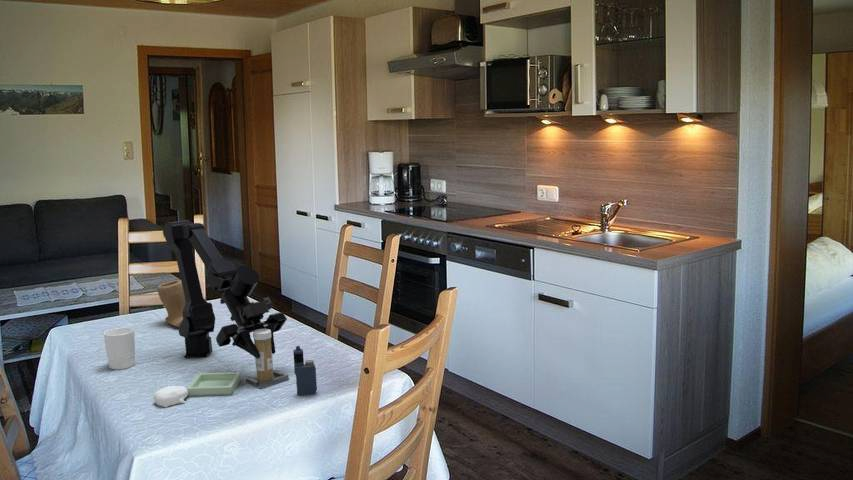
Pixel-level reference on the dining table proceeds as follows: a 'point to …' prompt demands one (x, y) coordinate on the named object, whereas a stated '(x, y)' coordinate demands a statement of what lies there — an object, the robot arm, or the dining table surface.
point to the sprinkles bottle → (263, 354)
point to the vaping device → (304, 373)
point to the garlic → (170, 395)
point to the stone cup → (173, 301)
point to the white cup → (120, 347)
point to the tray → (214, 384)
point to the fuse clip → (279, 375)
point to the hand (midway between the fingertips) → (266, 355)
